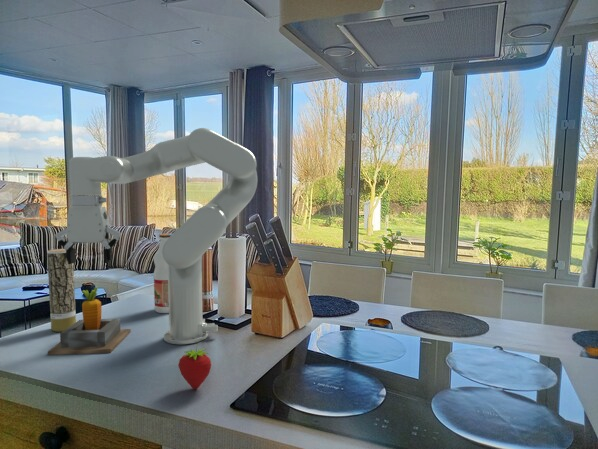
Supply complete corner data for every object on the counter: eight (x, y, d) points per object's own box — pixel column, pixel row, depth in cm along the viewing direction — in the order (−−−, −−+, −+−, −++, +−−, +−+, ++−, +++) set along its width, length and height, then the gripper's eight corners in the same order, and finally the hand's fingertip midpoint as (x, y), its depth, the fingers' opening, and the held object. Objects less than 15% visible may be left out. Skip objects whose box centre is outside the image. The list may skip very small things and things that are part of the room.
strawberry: (190, 379, 91) (189, 336, 91) (217, 385, 88) (217, 341, 88) (172, 391, 86) (171, 346, 85) (200, 398, 83) (199, 351, 82)
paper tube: (68, 332, 122) (64, 251, 120) (46, 332, 122) (42, 251, 120) (80, 325, 129) (77, 248, 127) (59, 325, 129) (56, 248, 127)
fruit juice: (175, 314, 141) (173, 235, 139) (150, 313, 142) (147, 235, 140) (185, 306, 150) (183, 232, 148) (161, 306, 151) (159, 232, 149)
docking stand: (130, 332, 123) (130, 316, 122) (110, 352, 107) (109, 334, 106) (76, 333, 121) (75, 317, 121) (47, 354, 105) (47, 336, 105)
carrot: (81, 343, 111) (79, 290, 110) (85, 337, 116) (83, 286, 114) (101, 341, 112) (99, 288, 111) (104, 335, 117) (102, 285, 116)
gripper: (123, 201, 115) (126, 259, 117) (60, 202, 114) (64, 261, 115) (113, 201, 108) (116, 264, 109) (46, 202, 106) (50, 266, 108)
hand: (89, 262), depth 112 cm, fingers open, 9 cm apart
